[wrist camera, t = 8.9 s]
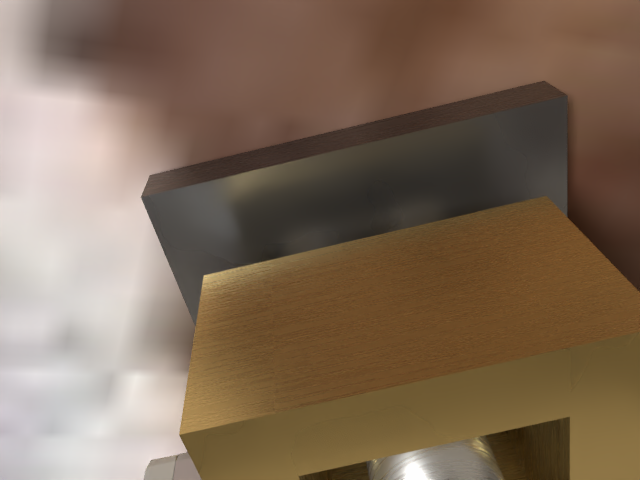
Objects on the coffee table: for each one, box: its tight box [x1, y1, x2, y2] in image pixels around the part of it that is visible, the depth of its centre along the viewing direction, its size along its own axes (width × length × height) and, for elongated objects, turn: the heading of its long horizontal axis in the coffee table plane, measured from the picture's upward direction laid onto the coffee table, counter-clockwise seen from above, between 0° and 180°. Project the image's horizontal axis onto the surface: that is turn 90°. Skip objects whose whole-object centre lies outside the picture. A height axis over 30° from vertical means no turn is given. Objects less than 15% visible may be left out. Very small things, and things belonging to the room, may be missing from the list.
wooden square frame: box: [179, 196, 640, 480], centre depth 10 cm, size 6×6×4 cm
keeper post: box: [141, 81, 567, 480], centre depth 11 cm, size 8×8×6 cm
